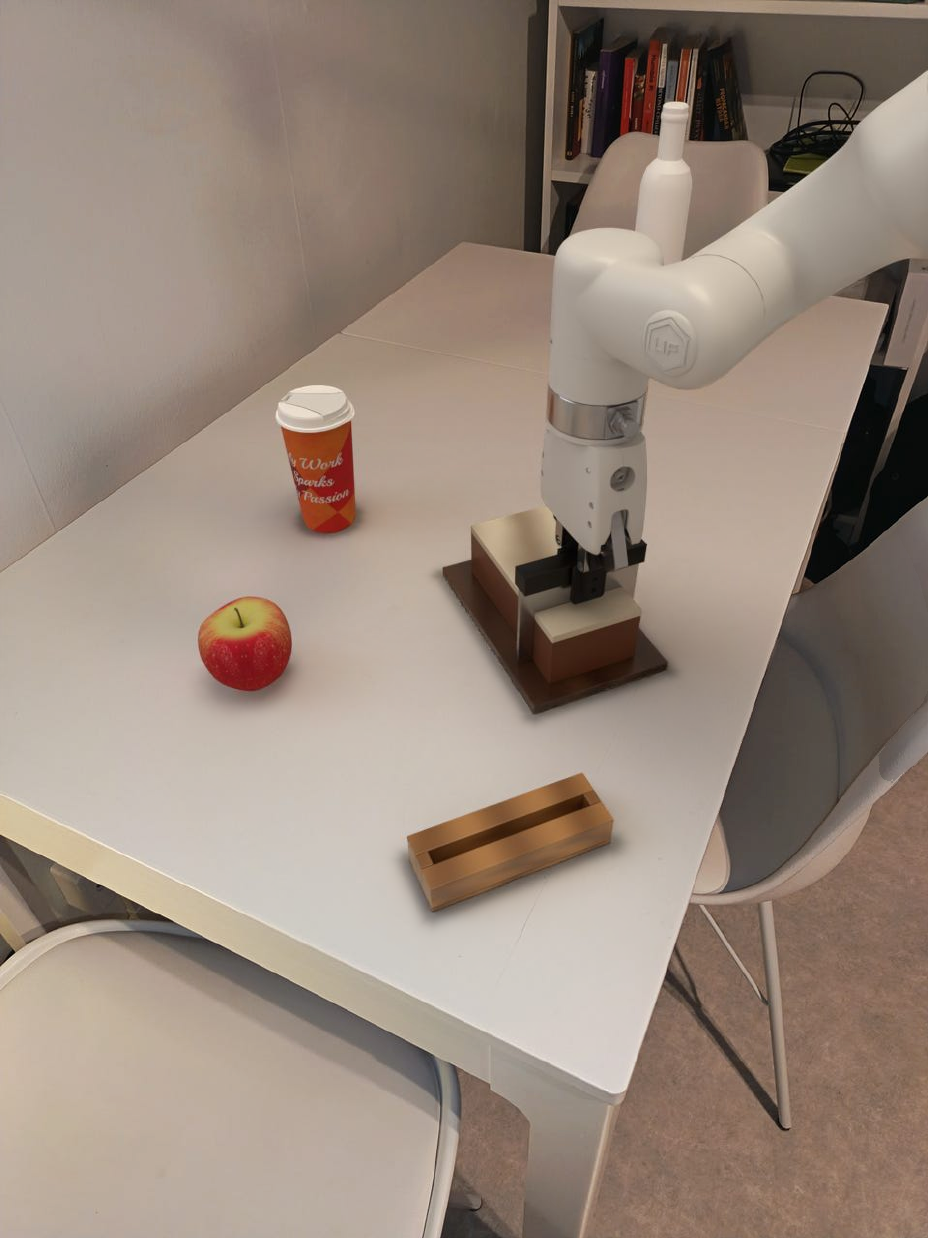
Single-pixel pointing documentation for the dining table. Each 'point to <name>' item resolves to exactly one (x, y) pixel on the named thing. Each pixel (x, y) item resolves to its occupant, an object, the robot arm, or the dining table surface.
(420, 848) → the knife block
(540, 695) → the cake
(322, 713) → the dining table surface
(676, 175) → the bottle
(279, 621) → the apple
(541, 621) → the cake slice
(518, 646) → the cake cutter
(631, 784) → the dining table surface
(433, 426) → the dining table surface
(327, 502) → the coffee cup
